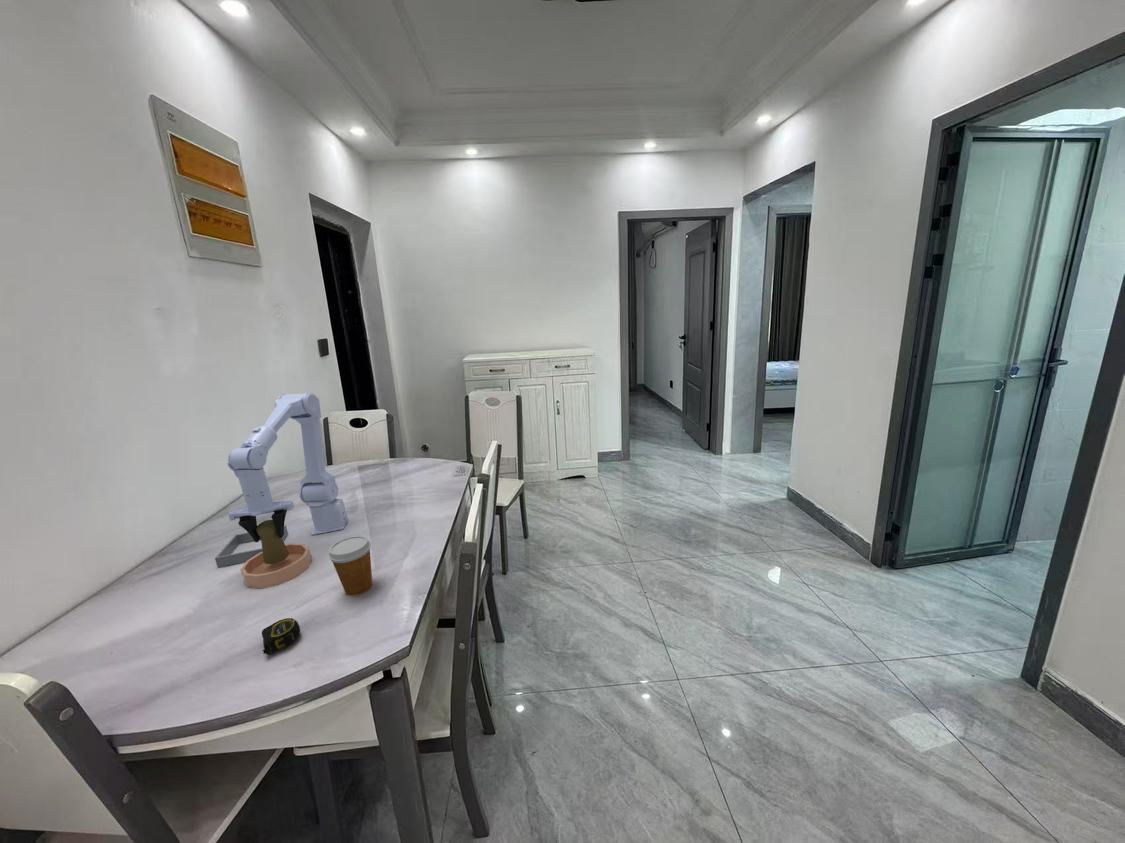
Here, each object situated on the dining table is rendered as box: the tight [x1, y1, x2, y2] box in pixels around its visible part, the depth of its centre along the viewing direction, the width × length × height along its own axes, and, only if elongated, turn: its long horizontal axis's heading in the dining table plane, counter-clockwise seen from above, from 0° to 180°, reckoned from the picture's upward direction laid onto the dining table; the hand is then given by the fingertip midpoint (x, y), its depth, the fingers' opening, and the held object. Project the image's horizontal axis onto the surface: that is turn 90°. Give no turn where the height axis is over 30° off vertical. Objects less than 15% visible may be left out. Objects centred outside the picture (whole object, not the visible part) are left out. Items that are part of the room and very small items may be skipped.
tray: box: [214, 524, 289, 568], centre depth 137 cm, size 14×14×3 cm
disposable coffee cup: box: [327, 535, 373, 597], centre depth 112 cm, size 10×10×12 cm
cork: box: [256, 519, 289, 564], centre depth 123 cm, size 6×6×11 cm
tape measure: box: [261, 617, 301, 655], centre depth 96 cm, size 7×7×4 cm
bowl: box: [240, 542, 313, 589], centre depth 124 cm, size 16×16×4 cm
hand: (269, 538), depth 122 cm, fingers closed on cork, 5 cm apart
